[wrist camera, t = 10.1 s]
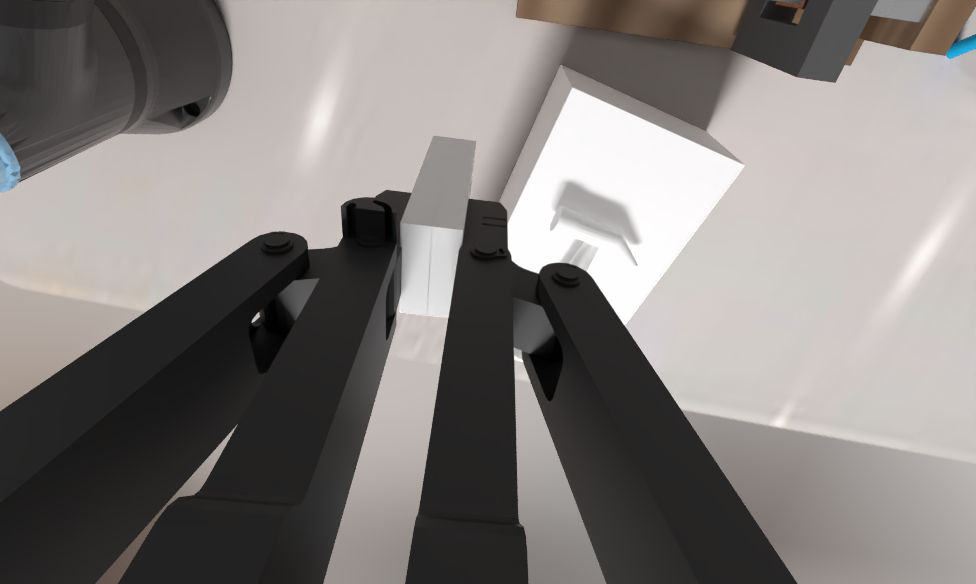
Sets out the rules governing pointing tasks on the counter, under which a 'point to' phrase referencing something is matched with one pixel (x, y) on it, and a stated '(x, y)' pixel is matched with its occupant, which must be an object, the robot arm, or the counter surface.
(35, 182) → the counter surface
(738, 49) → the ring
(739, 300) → the counter surface
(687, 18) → the wooden stand
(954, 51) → the gear
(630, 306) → the white pegged block
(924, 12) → the light grey bar
